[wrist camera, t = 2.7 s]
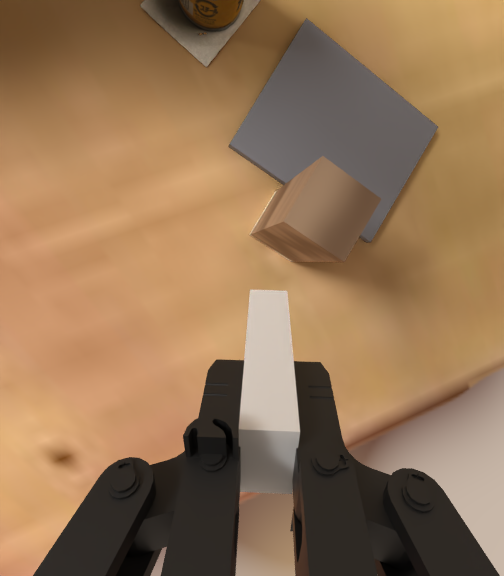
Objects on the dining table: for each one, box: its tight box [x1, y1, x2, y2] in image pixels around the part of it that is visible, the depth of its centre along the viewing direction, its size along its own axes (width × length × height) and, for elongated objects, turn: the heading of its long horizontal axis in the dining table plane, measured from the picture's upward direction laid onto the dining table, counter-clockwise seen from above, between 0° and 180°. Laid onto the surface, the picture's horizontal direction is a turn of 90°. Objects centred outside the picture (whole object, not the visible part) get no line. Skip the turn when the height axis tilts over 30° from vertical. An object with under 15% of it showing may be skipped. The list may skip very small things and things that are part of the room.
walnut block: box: [249, 156, 381, 262], centre depth 29 cm, size 5×5×12 cm
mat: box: [229, 18, 438, 242], centre depth 35 cm, size 17×14×1 cm
